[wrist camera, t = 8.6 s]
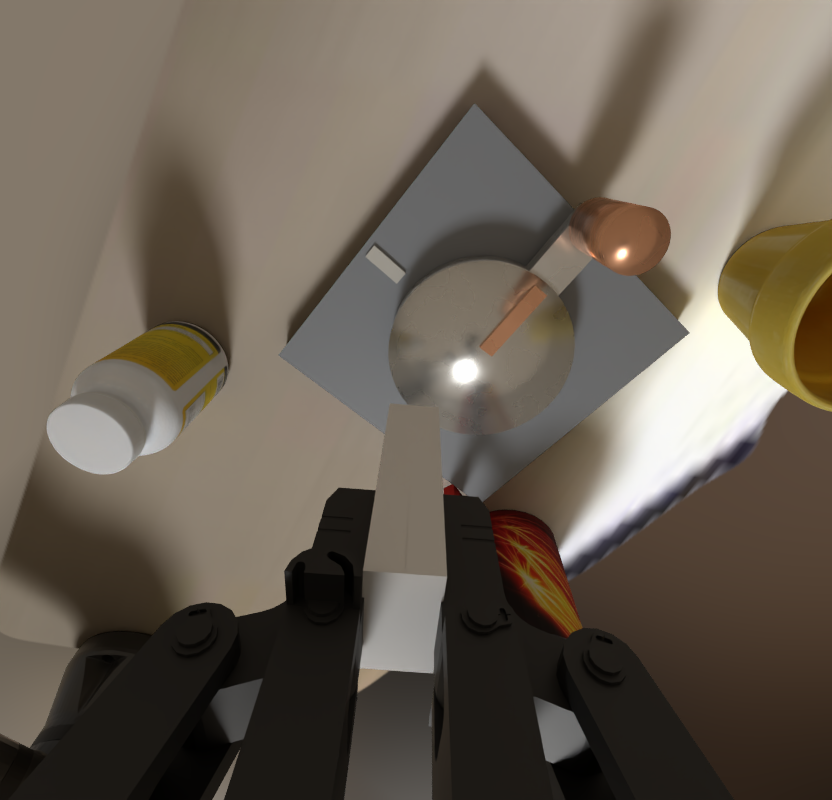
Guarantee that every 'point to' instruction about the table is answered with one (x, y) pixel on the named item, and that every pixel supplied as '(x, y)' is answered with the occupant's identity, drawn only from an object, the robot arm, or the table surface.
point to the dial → (511, 319)
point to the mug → (532, 571)
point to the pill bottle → (138, 397)
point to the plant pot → (786, 306)
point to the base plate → (462, 237)
